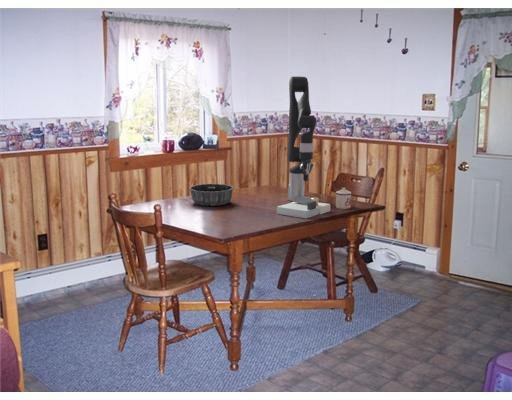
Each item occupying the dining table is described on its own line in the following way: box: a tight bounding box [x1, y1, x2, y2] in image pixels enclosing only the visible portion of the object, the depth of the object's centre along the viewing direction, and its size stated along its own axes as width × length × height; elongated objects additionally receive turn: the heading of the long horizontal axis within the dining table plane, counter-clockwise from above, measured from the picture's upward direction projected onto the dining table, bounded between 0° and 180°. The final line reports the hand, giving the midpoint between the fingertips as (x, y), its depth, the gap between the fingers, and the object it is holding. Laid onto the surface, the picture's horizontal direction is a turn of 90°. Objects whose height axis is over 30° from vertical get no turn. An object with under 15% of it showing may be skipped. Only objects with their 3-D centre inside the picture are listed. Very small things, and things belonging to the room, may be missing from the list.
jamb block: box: [291, 201, 331, 215], centre depth 354 cm, size 20×11×4 cm, turn 54°
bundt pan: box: [189, 183, 235, 207], centre depth 371 cm, size 26×26×10 cm
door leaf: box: [276, 202, 319, 219], centre depth 344 cm, size 19×13×4 cm
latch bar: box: [294, 195, 320, 205], centre depth 351 cm, size 14×4×4 cm, turn 54°
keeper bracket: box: [307, 201, 316, 210], centre depth 339 cm, size 2×6×4 cm, turn 144°
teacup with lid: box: [335, 187, 352, 210], centre depth 364 cm, size 12×9×12 cm
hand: (305, 180), depth 356 cm, fingers closed
